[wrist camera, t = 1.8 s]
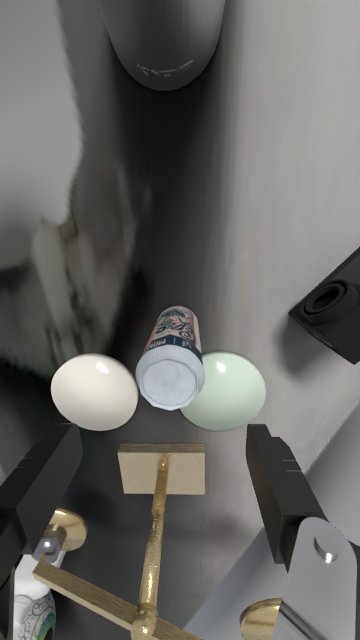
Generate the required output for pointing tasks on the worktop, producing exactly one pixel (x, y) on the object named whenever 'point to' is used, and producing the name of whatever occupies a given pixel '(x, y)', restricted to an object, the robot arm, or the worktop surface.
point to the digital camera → (335, 310)
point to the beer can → (172, 361)
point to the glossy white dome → (95, 391)
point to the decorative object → (38, 620)
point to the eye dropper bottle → (28, 587)
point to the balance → (146, 478)
